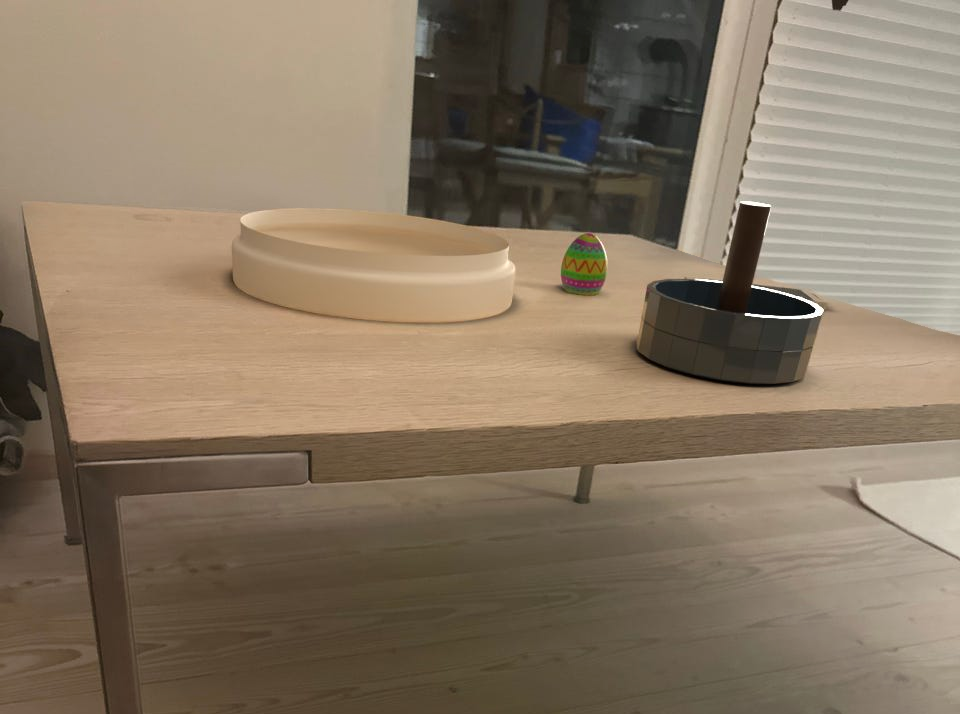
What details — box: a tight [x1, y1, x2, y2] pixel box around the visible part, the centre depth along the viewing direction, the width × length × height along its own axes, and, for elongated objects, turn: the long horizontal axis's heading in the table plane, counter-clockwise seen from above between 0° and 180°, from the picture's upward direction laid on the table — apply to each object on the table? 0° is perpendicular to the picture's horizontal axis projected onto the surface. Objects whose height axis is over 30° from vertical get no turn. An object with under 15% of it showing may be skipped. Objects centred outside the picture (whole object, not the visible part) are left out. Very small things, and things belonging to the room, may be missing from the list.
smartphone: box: [684, 276, 829, 311], centre depth 107 cm, size 7×16×1 cm, turn 87°
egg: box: [560, 232, 608, 296], centre depth 98 cm, size 5×5×6 cm
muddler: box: [716, 201, 772, 314], centre depth 75 cm, size 4×4×12 cm
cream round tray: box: [231, 207, 516, 324], centre depth 89 cm, size 27×27×6 cm
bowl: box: [635, 278, 825, 385], centre depth 77 cm, size 14×14×6 cm
